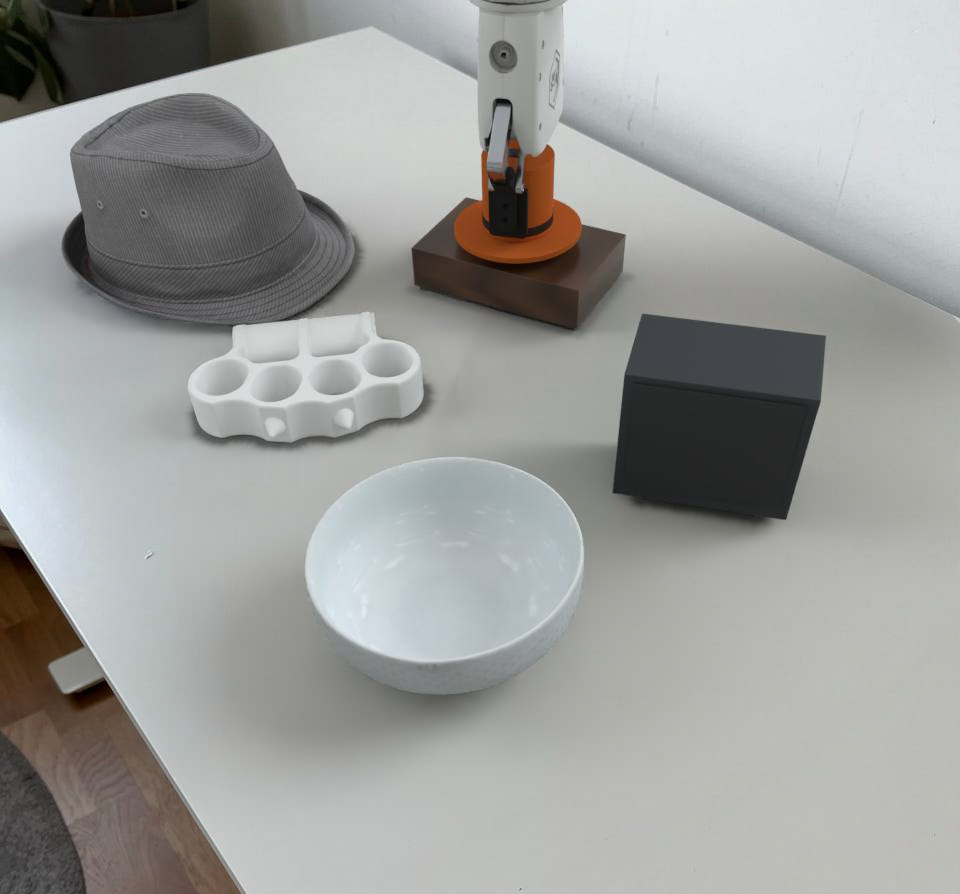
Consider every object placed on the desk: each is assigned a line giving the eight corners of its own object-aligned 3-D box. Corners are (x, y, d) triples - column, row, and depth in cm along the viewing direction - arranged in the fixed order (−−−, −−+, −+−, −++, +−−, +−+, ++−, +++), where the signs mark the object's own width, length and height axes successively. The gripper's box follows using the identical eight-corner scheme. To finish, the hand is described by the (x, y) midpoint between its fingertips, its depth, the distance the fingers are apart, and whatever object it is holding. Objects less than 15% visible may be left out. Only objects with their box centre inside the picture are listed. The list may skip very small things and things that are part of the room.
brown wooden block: (622, 276, 89) (626, 234, 86) (576, 333, 84) (578, 290, 81) (467, 237, 94) (465, 196, 91) (414, 289, 89) (411, 247, 86)
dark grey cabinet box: (627, 442, 74) (642, 313, 66) (790, 465, 72) (826, 335, 64) (610, 505, 70) (623, 376, 62) (782, 533, 68) (820, 402, 59)
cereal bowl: (388, 509, 71) (377, 430, 65) (611, 566, 66) (620, 487, 61) (272, 688, 61) (248, 613, 55) (526, 768, 56) (527, 695, 51)
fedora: (239, 366, 82) (202, 223, 72) (14, 280, 92) (-45, 145, 82) (403, 235, 95) (390, 99, 85) (190, 172, 104) (157, 44, 95)
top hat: (556, 190, 89) (558, 115, 84) (600, 250, 83) (605, 172, 78) (439, 211, 88) (435, 136, 82) (475, 273, 81) (472, 196, 76)
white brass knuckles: (413, 331, 85) (431, 439, 75) (202, 353, 83) (194, 465, 74) (410, 295, 82) (427, 403, 73) (192, 317, 81) (182, 430, 72)
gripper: (543, 19, 64) (538, 273, 78) (593, -65, 75) (581, 172, 89) (433, 12, 66) (447, 262, 79) (498, -70, 76) (500, 165, 90)
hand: (518, 213), depth 84 cm, fingers closed on top hat, 6 cm apart
